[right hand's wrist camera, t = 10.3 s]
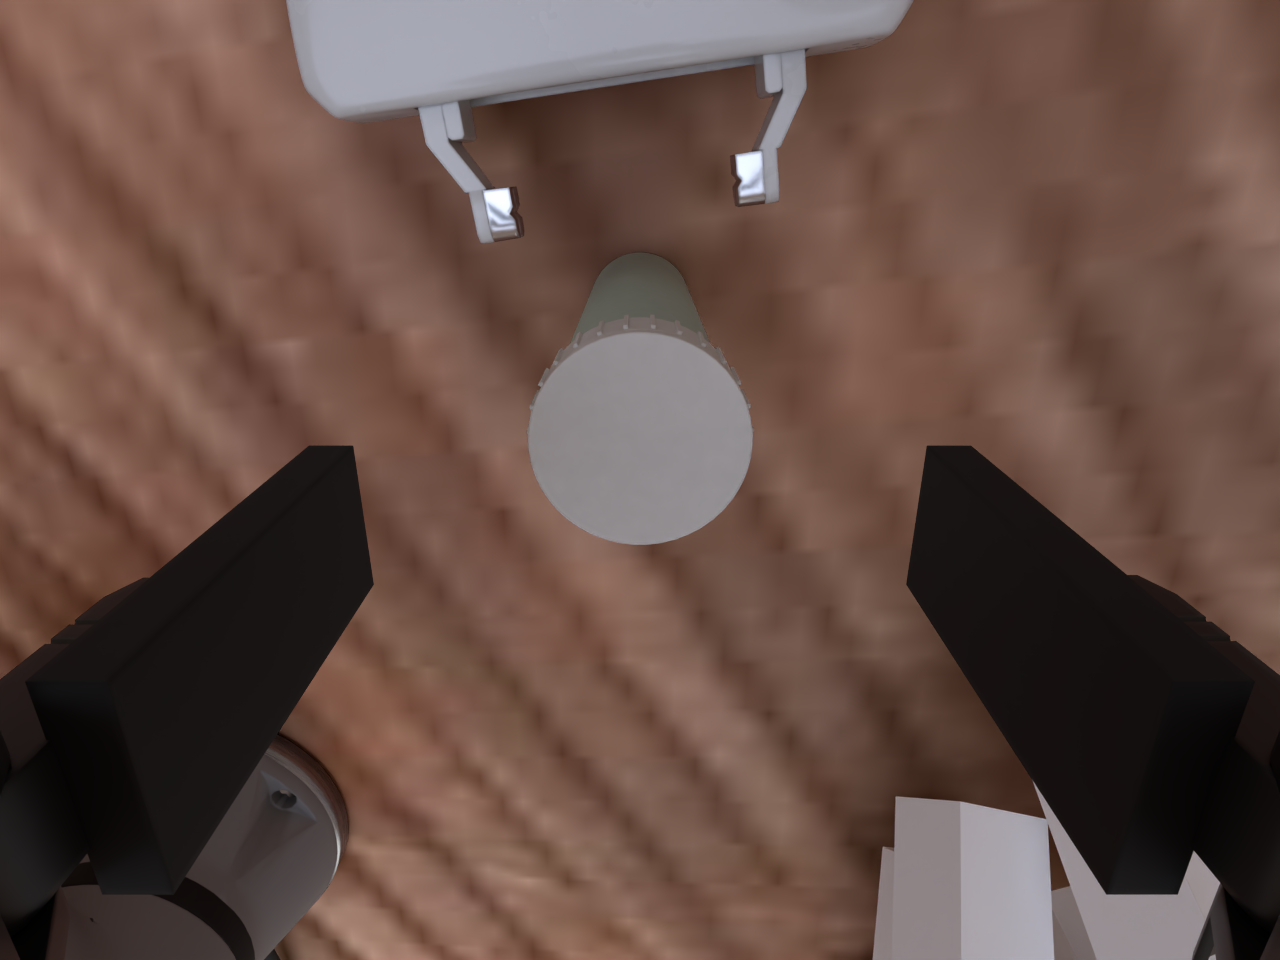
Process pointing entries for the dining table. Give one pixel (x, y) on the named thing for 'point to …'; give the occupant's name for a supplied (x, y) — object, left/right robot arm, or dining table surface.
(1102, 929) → the pile of blocks
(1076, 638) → the right robot arm
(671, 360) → the lid
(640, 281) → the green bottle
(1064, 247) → the dining table surface
